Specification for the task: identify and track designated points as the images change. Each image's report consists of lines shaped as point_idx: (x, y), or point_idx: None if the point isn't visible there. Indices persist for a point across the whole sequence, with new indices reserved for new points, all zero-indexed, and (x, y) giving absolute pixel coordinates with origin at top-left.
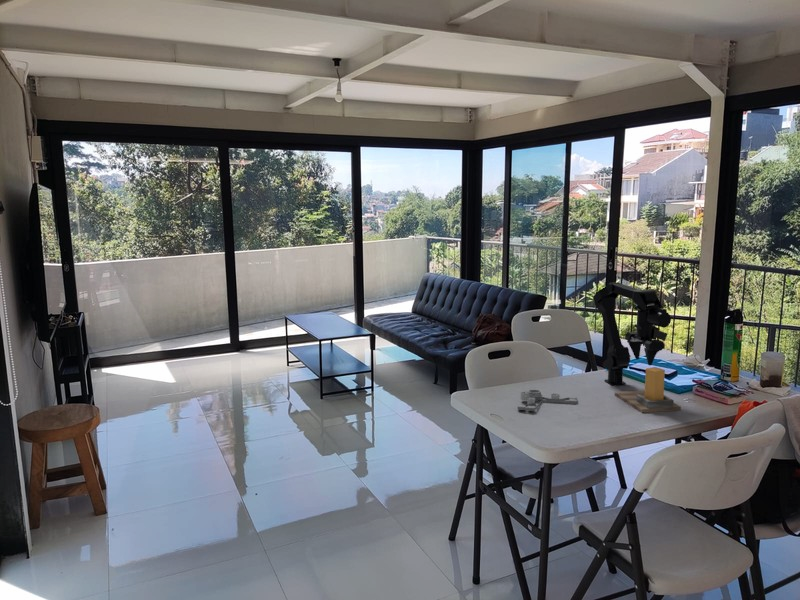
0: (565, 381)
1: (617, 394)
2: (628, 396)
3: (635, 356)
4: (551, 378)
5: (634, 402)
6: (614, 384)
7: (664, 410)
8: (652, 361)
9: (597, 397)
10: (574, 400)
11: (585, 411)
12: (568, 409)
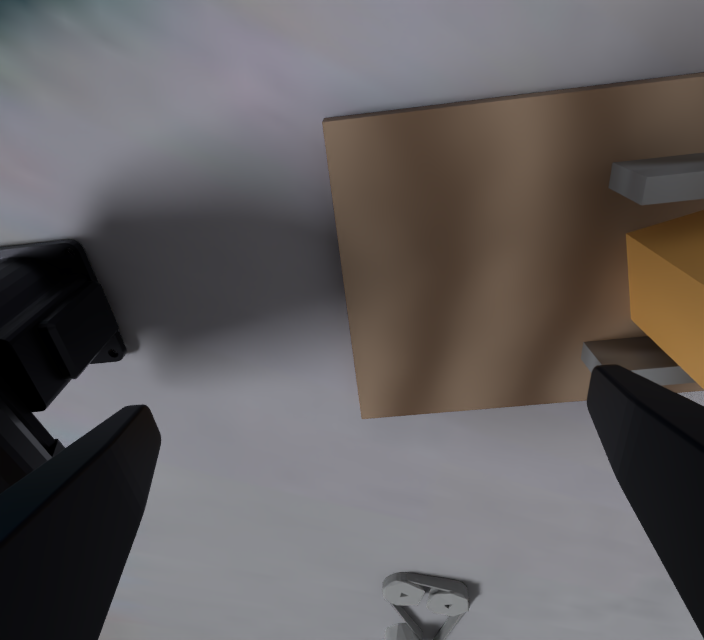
0: None
1: (405, 414)
2: (470, 370)
3: (146, 495)
4: None
5: None
6: (119, 336)
7: None
8: (691, 412)
9: (388, 492)
10: (462, 605)
11: (582, 580)
12: (532, 620)
